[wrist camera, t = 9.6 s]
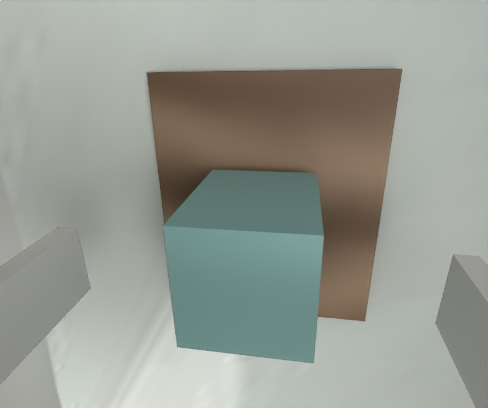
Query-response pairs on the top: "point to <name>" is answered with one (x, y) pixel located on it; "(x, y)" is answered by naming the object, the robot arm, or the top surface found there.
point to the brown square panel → (288, 151)
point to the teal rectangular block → (247, 264)
